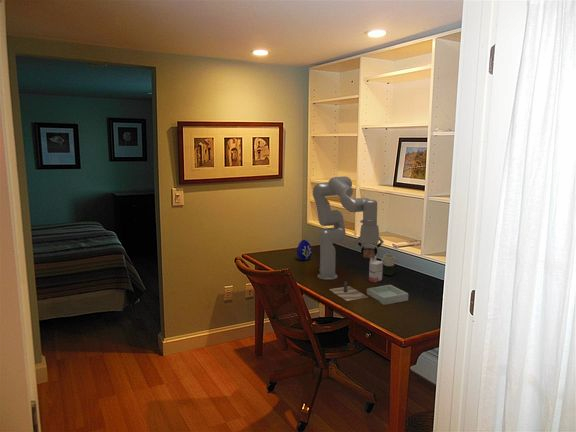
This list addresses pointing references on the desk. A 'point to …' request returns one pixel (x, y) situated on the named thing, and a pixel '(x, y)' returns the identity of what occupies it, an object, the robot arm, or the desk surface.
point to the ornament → (304, 250)
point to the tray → (387, 294)
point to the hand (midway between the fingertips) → (369, 254)
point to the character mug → (388, 263)
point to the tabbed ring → (369, 252)
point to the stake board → (348, 293)
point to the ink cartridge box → (375, 270)
